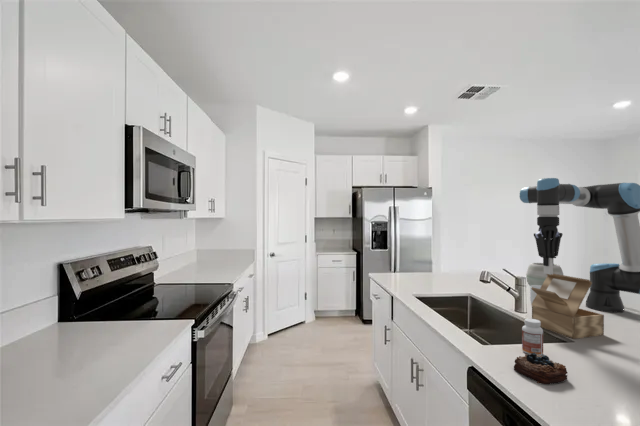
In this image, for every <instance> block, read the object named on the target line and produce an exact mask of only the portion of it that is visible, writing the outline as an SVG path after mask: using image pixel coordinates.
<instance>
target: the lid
mask: <svg viewBox="0 0 640 426" xmlns="http://www.w3.org/2000/svg"><path fill="white" fill-rule="evenodd" d="M547 275H548V276H547V277H546V279H545V281H544V283H543V284H542V286H541V288H540V289H538V288H533V287H532V288H531V289H532V290H533V291H534V292H535V293H536V294H537V295H536V297H535V299H534V300H533V302H532V304H531V303H530V305H533V306H536V307H539V308H543V309H546V310H550V311H553V312H557V313H560V314H563V315H567V316H570V317H574V316H575V314H576V312H577V310H578V308H580V307H581V304H582V303H583V301H584V299H585V297H586V295H587V294H588V291H590V286H591V284H592V282H591V281H590V279H586V278H581V277H575V276H569V275H564V274H563V275H559V274H551V275H550V274H547Z"/></svg>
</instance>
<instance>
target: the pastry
mask: <svg viewBox="0 0 640 426" xmlns="http://www.w3.org/2000/svg"><path fill="white" fill-rule="evenodd" d="M514 363H515V364H514V366H513V370H514V371H515V372H517V373H519V374H520V375H522V376H524V377H526V378H528V379H530V380H533V382H536V383H537V384H540V385H548V386H549V385H555V384H559V383H563V382H565V381H567V379H568V370H567V367H566V365H563V363H559V362H556V361H555V362H554V361H552V360H550V358H549V356H548V355H547V354H546V355H545V354H543V355H541V356H539V355H537V354H535V353H531V354H530V355H529V354H525V355H524V356H520V355H519V357H518V356H517V357H516V358H515V359H514Z"/></svg>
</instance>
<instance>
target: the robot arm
mask: <svg viewBox="0 0 640 426" xmlns="http://www.w3.org/2000/svg"><path fill="white" fill-rule="evenodd" d="M519 199H520V201H521V202H522V203H524V204H536V206H537V207H536V211H537V214H536V215H537V218H536V222H537V223H536V224H537V226H539V227H538V230H537V232H535V233H533V237H534V239H535V243H536V249H537V253H538V254H537V255H538V256H539V257H540V258H542V263H543V265H544V274H550V275H551V274H553V264H554V259H556V258H557V257H558V256H559V250H560V246H561V245H560V244H561V239H562V237H563V233H562V232H559V229H558V227H559V226H560V217H559V216H560V205H562V204H563V205H572V206H574V207H575V206H576V207H582V208H583V207H584V208H588V209H596V210H597V209H599V210H600V209H603V210H604V209H605V210H606V209H607V214H608V215H609V216H611V217H612V219H613V223H614V228H615V233H616V234H615V235H616V238H617V243H618V248H619V253H620V258H621V262H622V263H621V264H620V263H615V262H613V263H610V262H609V263H606V262H605V263H604V262H603V263H593V264H591V265H590V268H589V280H590V281H591V282H592V284H591V286H590V288H589V293H588V296H587V297H586V301H585V307H586V308H589V309H592V310H596V311H601V312H608V313H624V312H625V305H624V303H623V300H622V297H621V295H620V294H621V293H620V292H626V293H630V294H635V295H636V294H638V295H640V219H639V215H638V214H640V185H639V184H638V183H636V182H617V183H607V184H606V183H605V184H597V185H596V184H595V185H590V186H589V185H588V186H577V185H575V184H571V183H560V179H559V178H557V177H546V178H545V177H544V178H539V179H538V180H537V182H536V185H535V186H527V187H523V188H521V190H520V191H519ZM623 309H624V310H623Z"/></svg>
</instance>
